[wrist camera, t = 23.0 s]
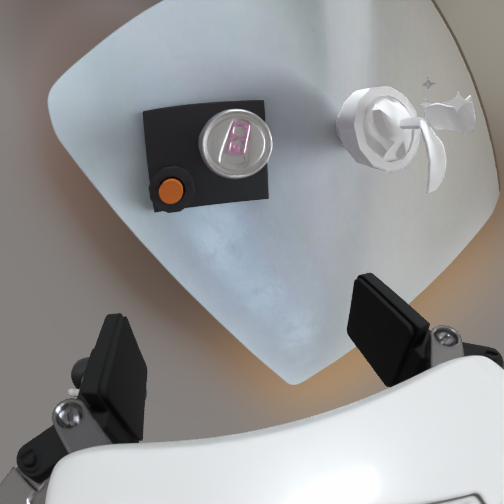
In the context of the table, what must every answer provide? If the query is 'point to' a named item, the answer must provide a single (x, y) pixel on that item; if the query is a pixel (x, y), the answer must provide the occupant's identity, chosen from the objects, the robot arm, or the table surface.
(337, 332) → the table surface
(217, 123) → the beverage can
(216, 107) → the push button plate
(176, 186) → the button
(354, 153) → the potted plant
